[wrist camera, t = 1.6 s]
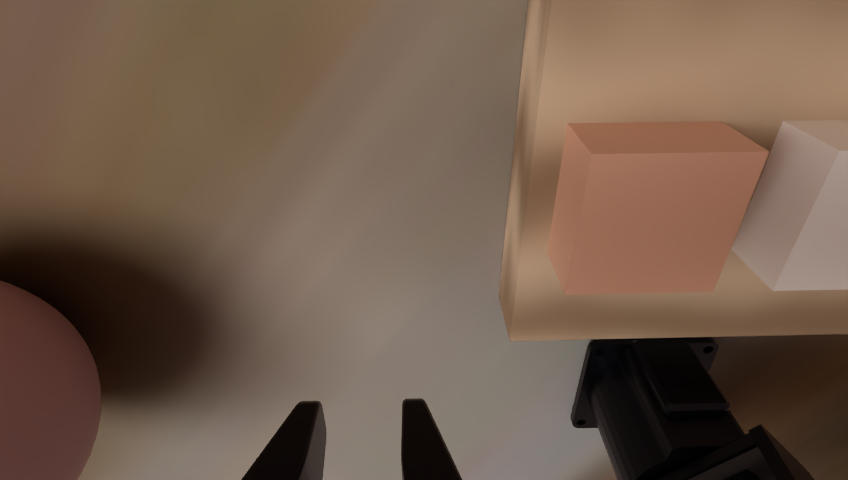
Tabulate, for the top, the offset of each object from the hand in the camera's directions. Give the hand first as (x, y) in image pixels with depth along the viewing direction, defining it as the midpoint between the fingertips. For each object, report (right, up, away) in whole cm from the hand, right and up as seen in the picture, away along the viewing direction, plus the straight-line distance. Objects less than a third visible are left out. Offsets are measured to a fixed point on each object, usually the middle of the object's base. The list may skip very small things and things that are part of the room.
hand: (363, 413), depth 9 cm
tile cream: (+15, +5, +8) cm, 18 cm away
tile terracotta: (+8, +5, +8) cm, 12 cm away
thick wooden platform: (+13, +7, +10) cm, 18 cm away
